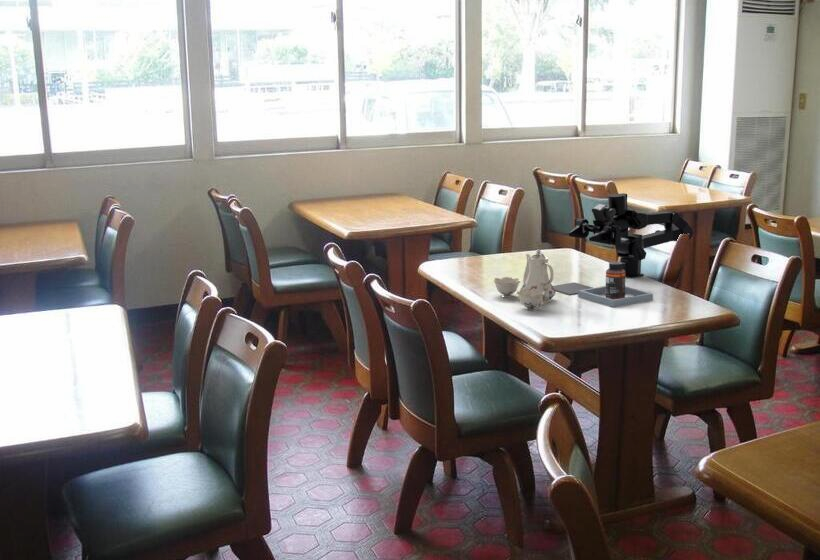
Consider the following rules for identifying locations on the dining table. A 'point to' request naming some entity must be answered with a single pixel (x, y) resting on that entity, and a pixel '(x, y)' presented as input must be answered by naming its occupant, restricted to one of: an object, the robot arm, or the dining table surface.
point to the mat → (570, 288)
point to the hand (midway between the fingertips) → (579, 236)
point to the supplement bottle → (615, 281)
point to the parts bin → (635, 298)
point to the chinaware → (530, 283)
